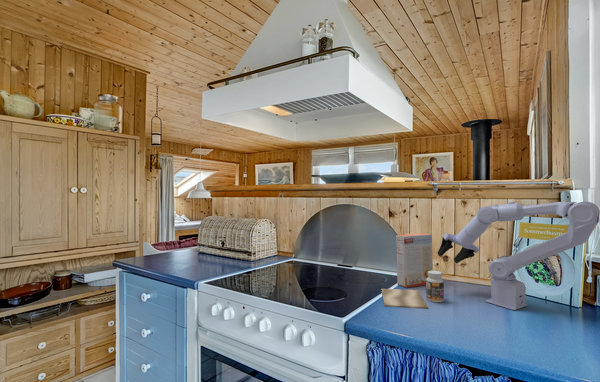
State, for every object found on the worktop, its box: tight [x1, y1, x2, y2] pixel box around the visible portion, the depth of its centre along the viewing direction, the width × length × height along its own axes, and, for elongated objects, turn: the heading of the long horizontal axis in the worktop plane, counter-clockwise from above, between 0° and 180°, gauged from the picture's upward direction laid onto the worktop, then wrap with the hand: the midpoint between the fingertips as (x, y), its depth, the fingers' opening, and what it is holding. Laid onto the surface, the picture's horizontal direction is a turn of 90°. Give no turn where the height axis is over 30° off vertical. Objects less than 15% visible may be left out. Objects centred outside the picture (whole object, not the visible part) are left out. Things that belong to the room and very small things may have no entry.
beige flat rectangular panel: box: [380, 288, 429, 309], centre depth 115 cm, size 14×18×1 cm
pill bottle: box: [425, 270, 445, 303], centre depth 113 cm, size 6×6×10 cm
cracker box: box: [395, 232, 434, 288], centre depth 132 cm, size 14×6×21 cm, turn 109°
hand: (447, 258), depth 122 cm, fingers open, 7 cm apart
